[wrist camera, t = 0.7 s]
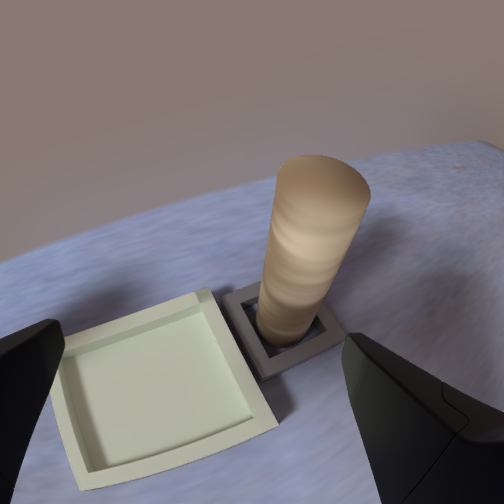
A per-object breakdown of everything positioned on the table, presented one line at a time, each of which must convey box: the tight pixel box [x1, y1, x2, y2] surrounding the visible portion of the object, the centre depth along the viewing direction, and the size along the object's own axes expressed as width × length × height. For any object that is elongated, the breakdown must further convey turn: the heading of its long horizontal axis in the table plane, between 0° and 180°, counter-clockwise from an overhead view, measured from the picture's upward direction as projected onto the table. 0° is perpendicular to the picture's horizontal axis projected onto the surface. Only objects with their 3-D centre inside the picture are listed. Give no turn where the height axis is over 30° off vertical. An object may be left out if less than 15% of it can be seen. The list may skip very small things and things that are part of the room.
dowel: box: [255, 155, 370, 348], centre depth 20 cm, size 4×4×15 cm
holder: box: [220, 281, 346, 382], centre depth 26 cm, size 8×8×1 cm
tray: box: [50, 287, 279, 491], centre depth 21 cm, size 12×15×2 cm
